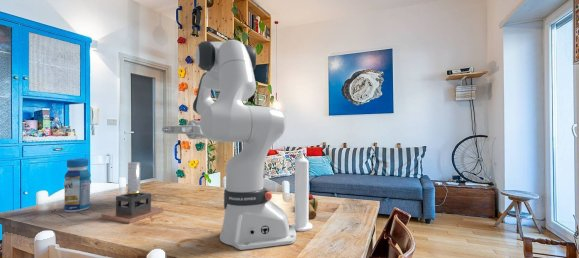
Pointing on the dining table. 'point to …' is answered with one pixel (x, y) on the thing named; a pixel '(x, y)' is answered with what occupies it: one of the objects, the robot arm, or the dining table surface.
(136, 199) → the collar stand
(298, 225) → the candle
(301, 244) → the dining table surface
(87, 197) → the blue pill bottle
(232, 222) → the robot arm
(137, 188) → the steel tube
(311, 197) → the kendama
